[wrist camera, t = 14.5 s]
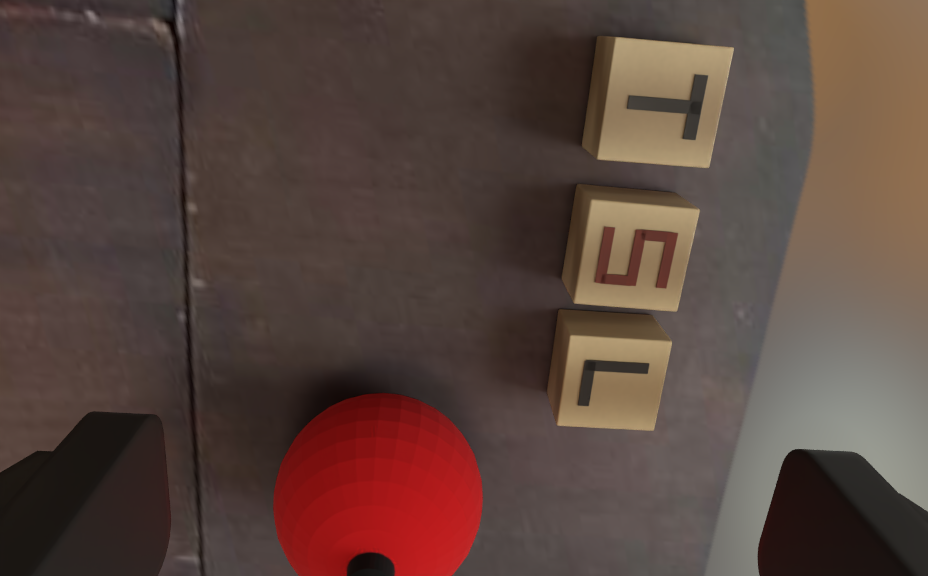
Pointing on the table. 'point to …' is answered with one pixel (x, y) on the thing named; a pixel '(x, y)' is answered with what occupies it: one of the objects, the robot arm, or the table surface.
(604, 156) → the letter t tile
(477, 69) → the table surface
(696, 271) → the table surface
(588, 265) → the tile
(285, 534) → the ornament
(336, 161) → the table surface
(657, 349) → the letter l tile
